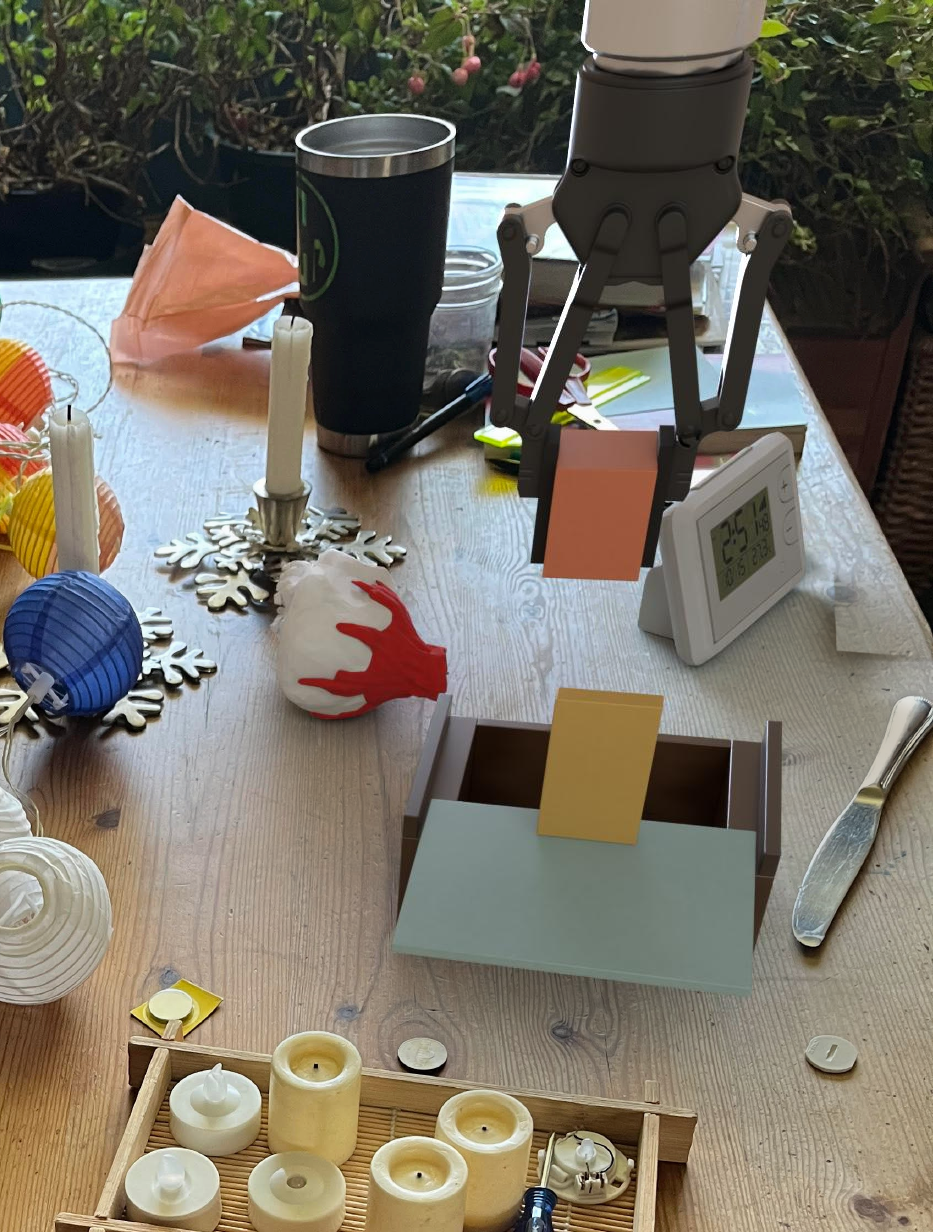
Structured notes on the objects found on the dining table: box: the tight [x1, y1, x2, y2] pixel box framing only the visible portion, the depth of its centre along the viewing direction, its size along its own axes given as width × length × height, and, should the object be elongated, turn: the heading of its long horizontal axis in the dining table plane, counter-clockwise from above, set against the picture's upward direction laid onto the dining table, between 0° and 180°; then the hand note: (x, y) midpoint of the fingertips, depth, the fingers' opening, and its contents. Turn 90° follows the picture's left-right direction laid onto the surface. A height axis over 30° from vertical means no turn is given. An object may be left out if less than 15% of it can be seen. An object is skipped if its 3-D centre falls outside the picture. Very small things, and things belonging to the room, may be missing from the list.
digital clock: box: [637, 431, 807, 666], centre depth 108 cm, size 16×9×11 cm, turn 126°
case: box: [395, 693, 783, 954], centre depth 87 cm, size 19×13×9 cm
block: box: [541, 428, 659, 582], centre depth 83 cm, size 5×5×6 cm
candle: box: [269, 548, 450, 720], centre depth 105 cm, size 9×11×15 cm
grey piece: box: [390, 686, 756, 999], centre depth 75 cm, size 17×13×9 cm
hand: (592, 553), depth 85 cm, fingers closed on block, 5 cm apart
